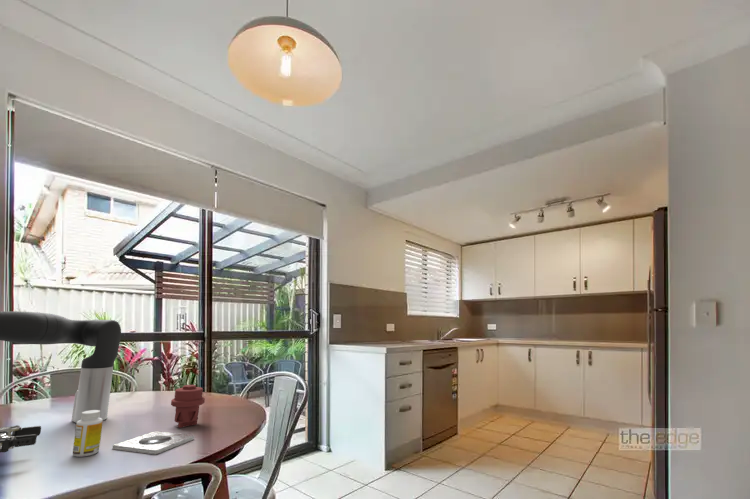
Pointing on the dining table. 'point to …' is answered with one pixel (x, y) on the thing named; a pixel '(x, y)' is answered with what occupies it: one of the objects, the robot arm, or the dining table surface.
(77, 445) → the supplement bottle
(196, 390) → the mechanical component
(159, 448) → the seat plate
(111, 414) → the dining table surface
